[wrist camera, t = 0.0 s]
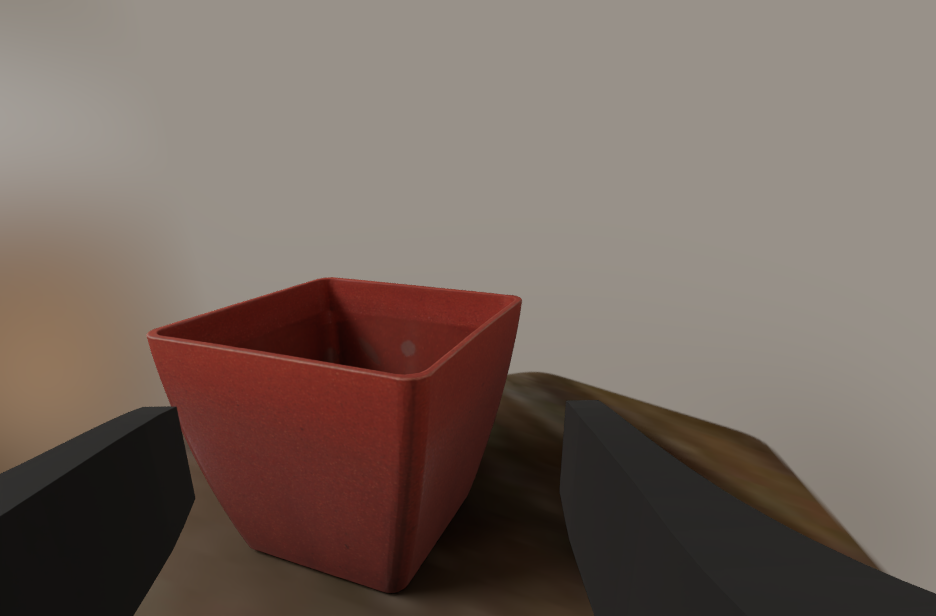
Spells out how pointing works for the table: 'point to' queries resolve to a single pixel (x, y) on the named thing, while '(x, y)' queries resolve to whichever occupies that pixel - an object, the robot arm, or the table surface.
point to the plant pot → (342, 416)
